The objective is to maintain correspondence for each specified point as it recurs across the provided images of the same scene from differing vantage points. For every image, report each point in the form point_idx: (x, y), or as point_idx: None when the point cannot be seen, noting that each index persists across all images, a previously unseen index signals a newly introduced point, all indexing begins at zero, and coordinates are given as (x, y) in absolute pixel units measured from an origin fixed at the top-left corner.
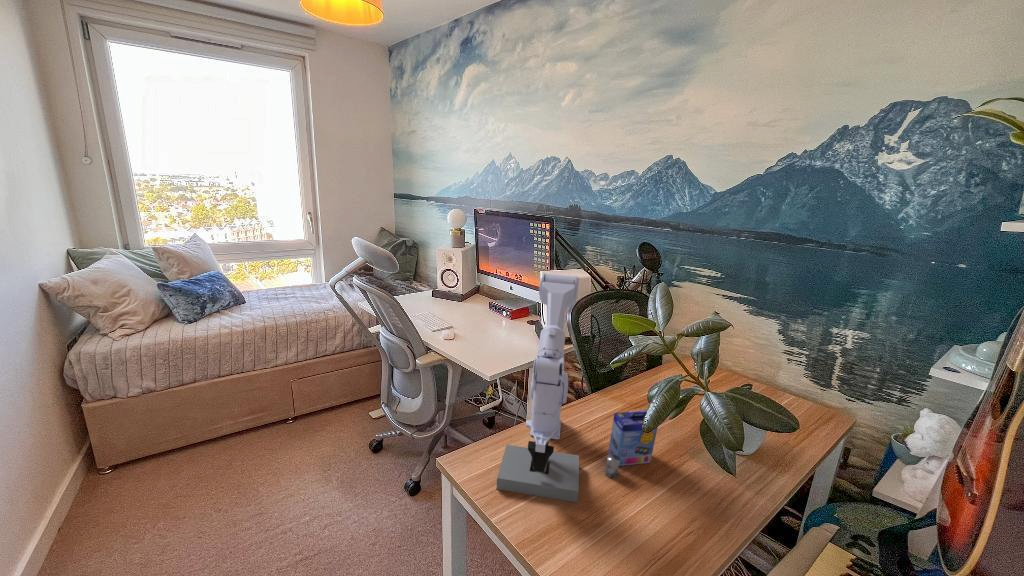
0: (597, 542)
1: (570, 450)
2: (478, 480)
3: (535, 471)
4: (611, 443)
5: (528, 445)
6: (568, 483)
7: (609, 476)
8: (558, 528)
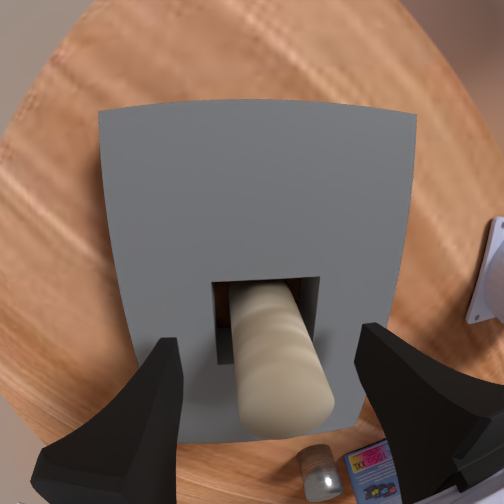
0: (70, 429)
1: None
2: (161, 15)
3: (235, 301)
4: (394, 471)
5: (48, 483)
6: (190, 422)
7: (299, 456)
8: (51, 363)
